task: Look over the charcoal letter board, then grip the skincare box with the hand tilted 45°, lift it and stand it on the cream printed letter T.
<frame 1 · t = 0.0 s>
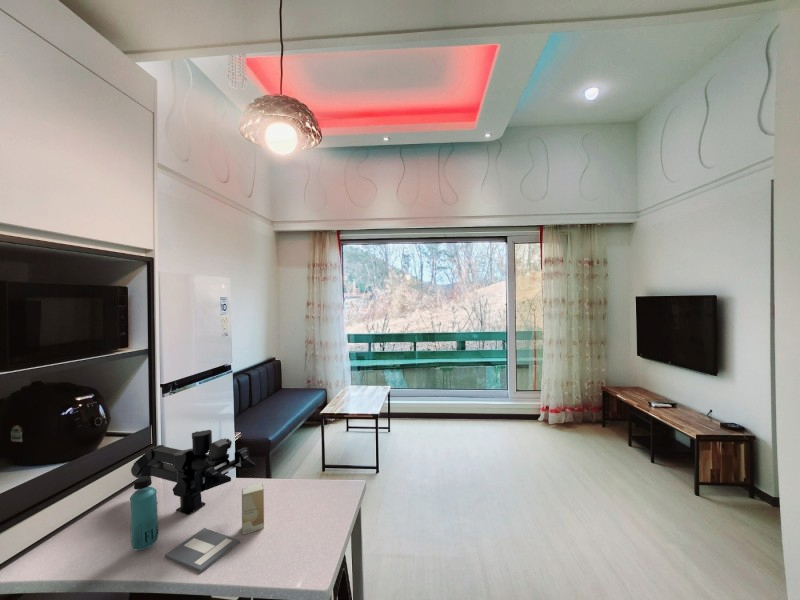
hand: (243, 472, 108), 17 cm above the table, tool horizontal, fingers open, 9 cm apart
skincare box: (253, 528, 107), on the table
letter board: (203, 549, 98), on the table
beverage bottle: (145, 548, 99), on the table
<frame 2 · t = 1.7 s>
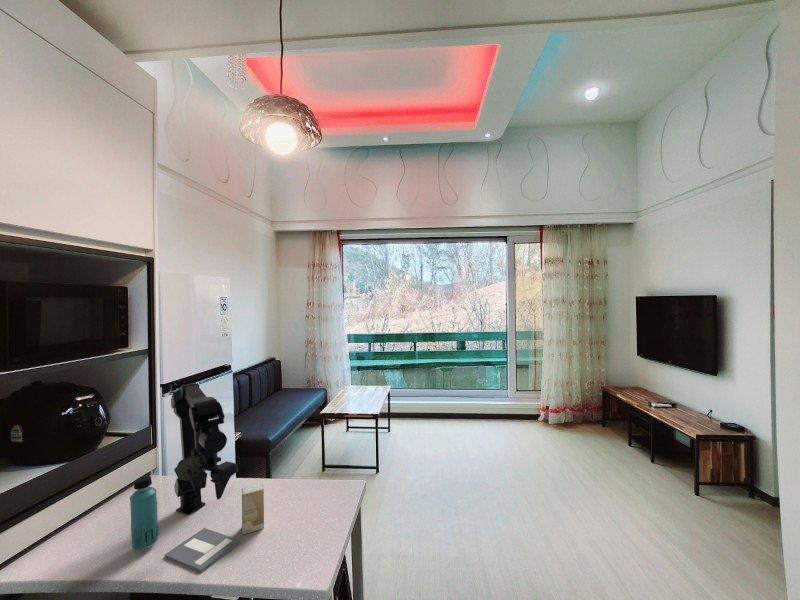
hand: (208, 495, 102), 13 cm above the table, tool pointing down, fingers open, 9 cm apart
nothing on the table moved.
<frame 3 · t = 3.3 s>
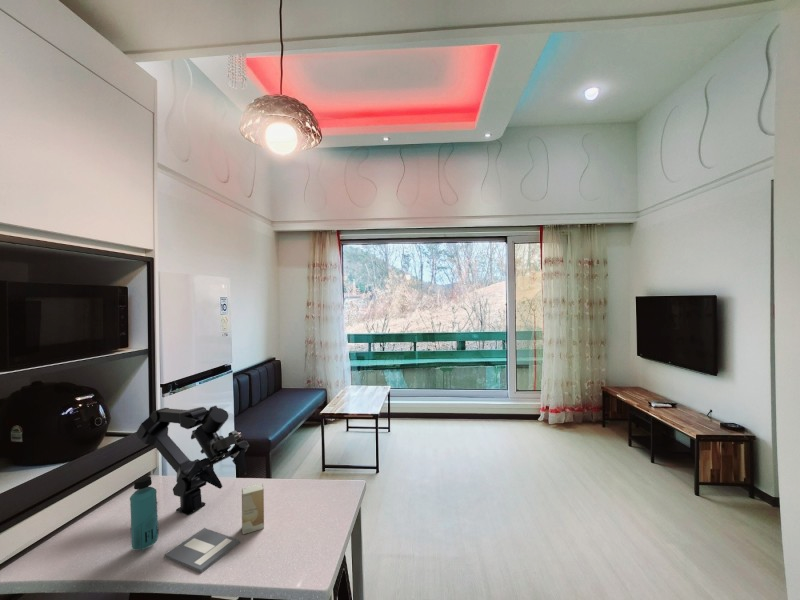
hand: (234, 480, 110), 13 cm above the table, tool tilted 45°, fingers open, 9 cm apart
nothing on the table moved.
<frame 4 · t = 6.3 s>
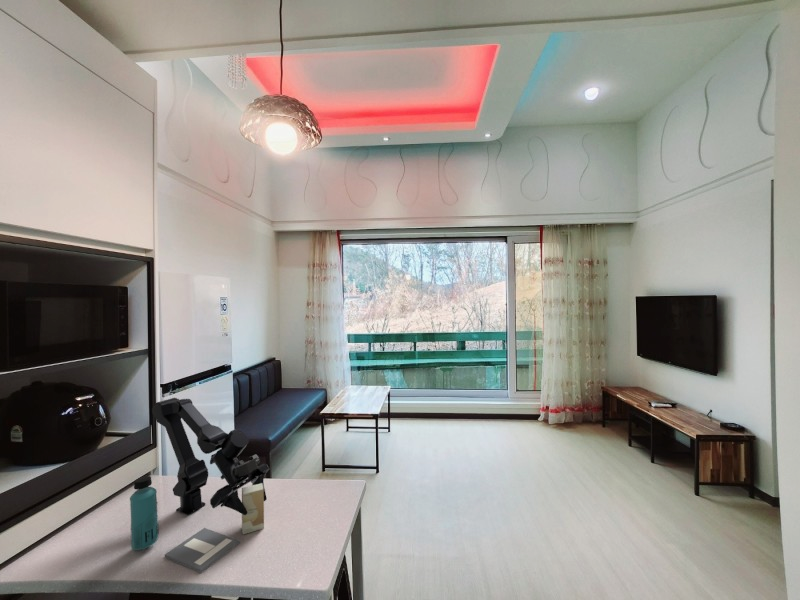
hand: (256, 507, 106), 7 cm above the table, tool tilted 45°, fingers closed on skincare box, 7 cm apart
skincare box: (253, 528, 107), on the table, touching gripper
everything else where it was.
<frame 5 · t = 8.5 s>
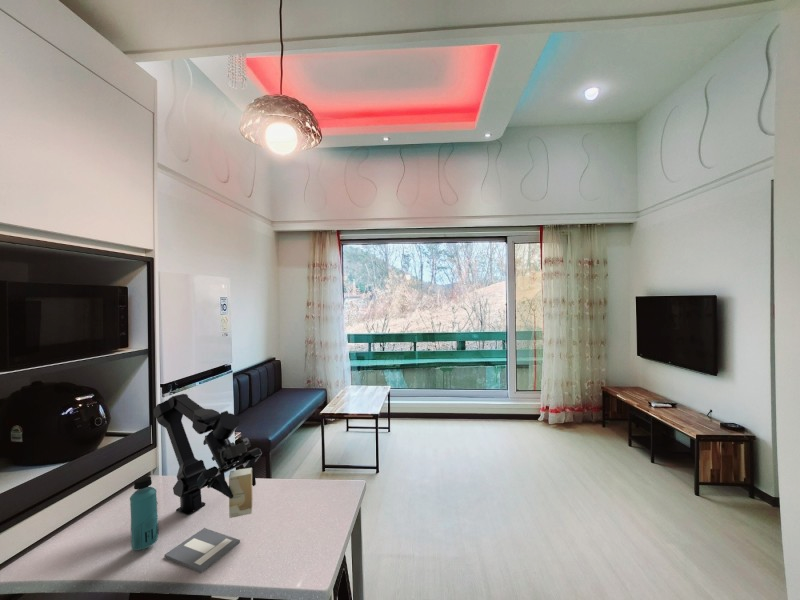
hand: (243, 491, 103), 13 cm above the table, tool tilted 45°, fingers closed on skincare box, 7 cm apart
skincare box: (241, 512, 104), point 6 cm above the table, touching gripper
everything else where it was.
when the fingers open (8 cm above the table, at t = 11.1 s): skincare box stays where it is, resting on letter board.
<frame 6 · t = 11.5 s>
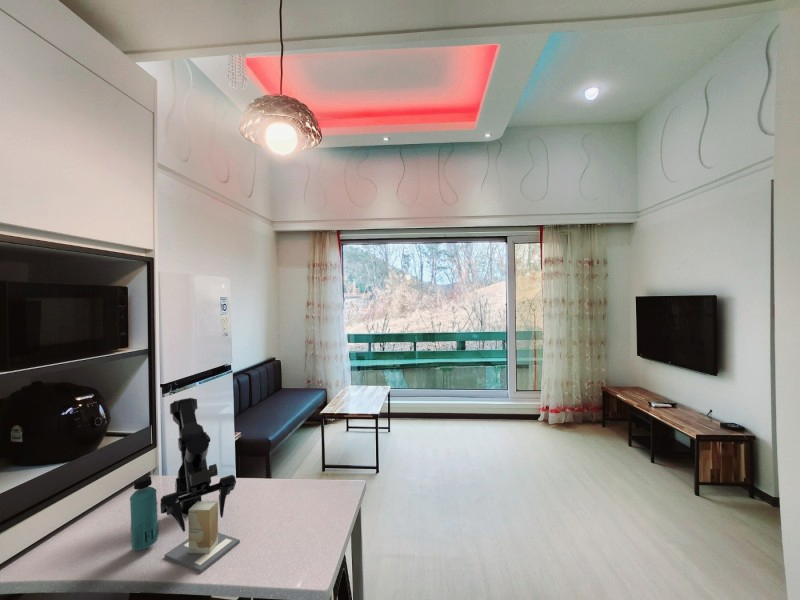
hand: (203, 523, 96), 9 cm above the table, tool tilted 45°, fingers open, 9 cm apart
skincare box: (204, 549, 97), point 1 cm above the table, touching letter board
everything else where it was.
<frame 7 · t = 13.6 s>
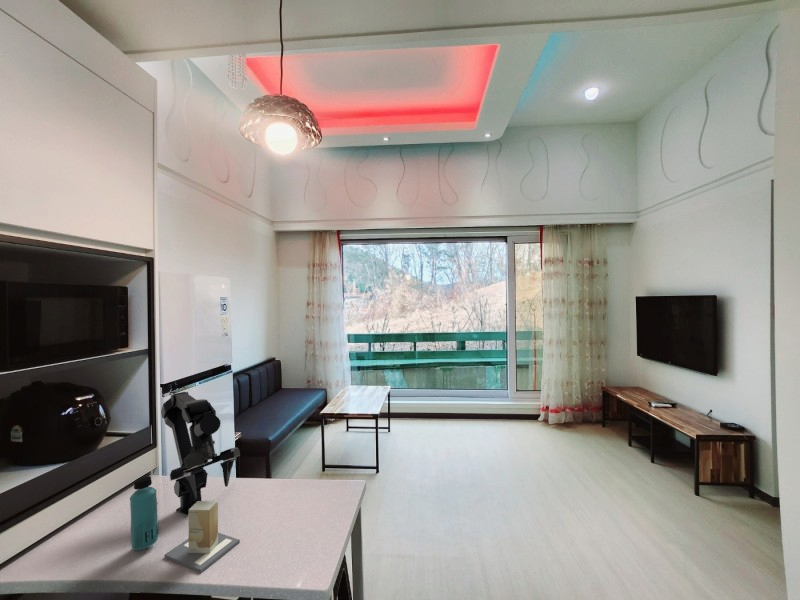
hand: (211, 492, 104), 13 cm above the table, tool tilted 25°, fingers open, 9 cm apart
nothing on the table moved.
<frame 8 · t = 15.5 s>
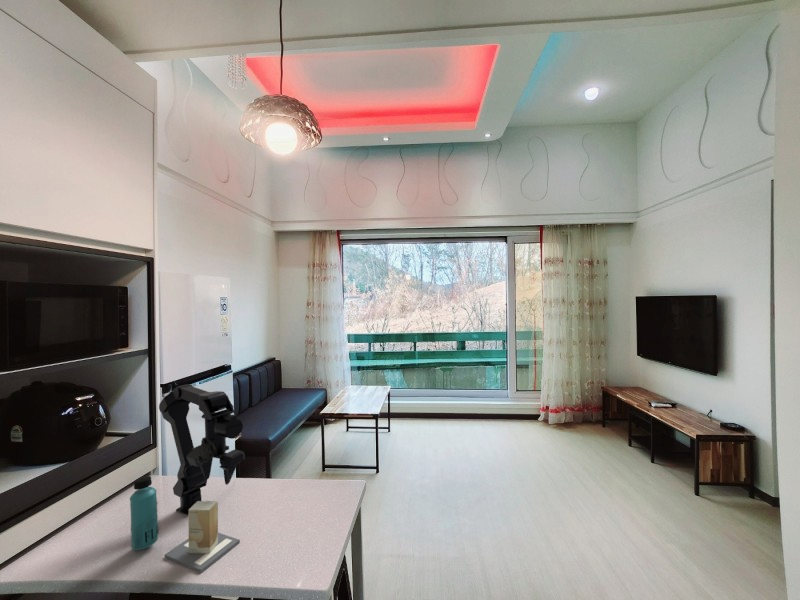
hand: (217, 481, 110), 13 cm above the table, tool pointing down, fingers open, 9 cm apart
nothing on the table moved.
at the end: skincare box 0.2 cm from the target spot, point 0.6 cm above the table; skincare box tilted 0°; the gripper is holding nothing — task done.
